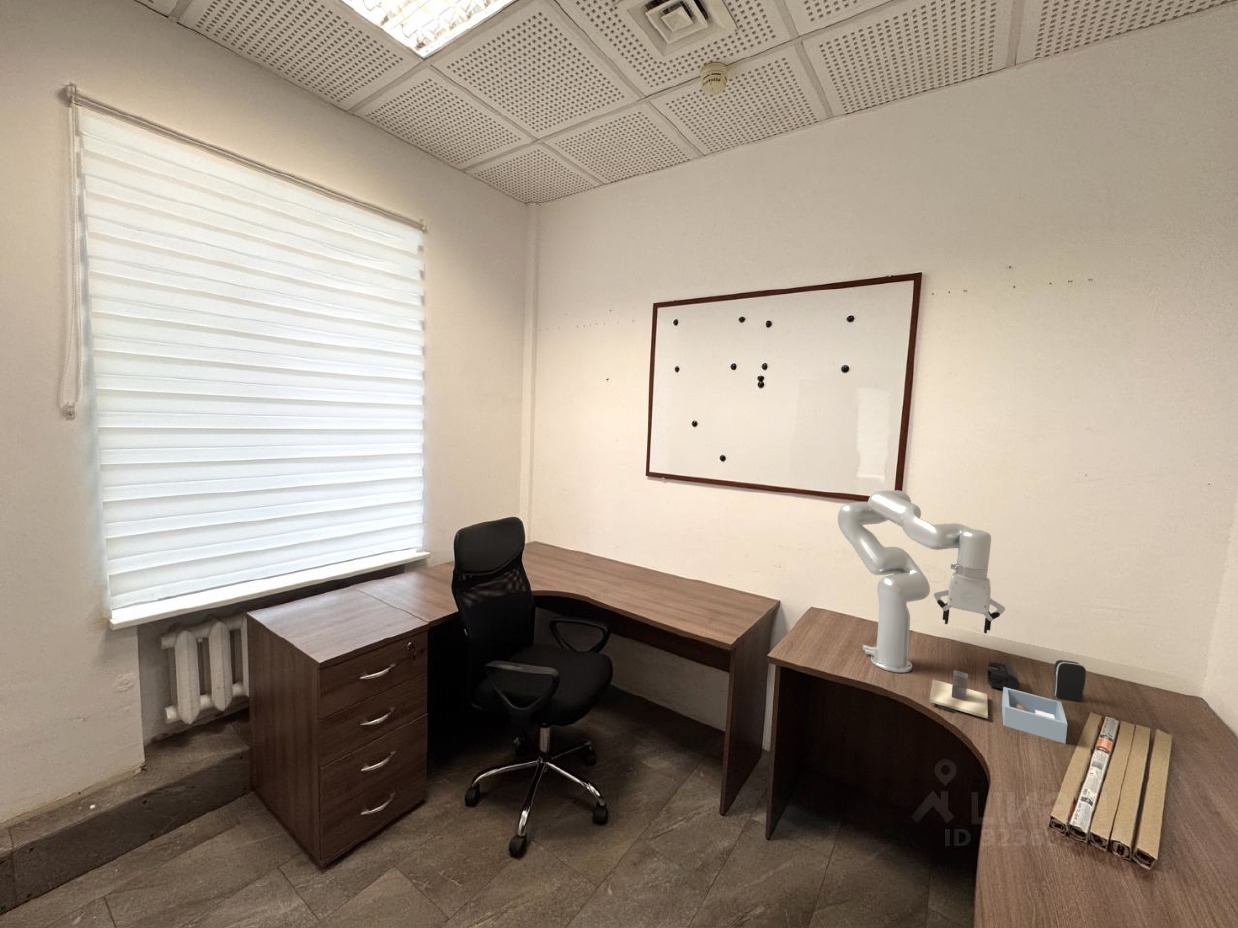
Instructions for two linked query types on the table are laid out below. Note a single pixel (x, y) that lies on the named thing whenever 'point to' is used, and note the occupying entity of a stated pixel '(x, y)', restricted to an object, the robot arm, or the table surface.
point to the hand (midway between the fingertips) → (965, 627)
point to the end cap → (1002, 676)
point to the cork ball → (1020, 707)
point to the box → (1034, 715)
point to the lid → (959, 696)
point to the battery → (1069, 680)
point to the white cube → (1044, 714)
